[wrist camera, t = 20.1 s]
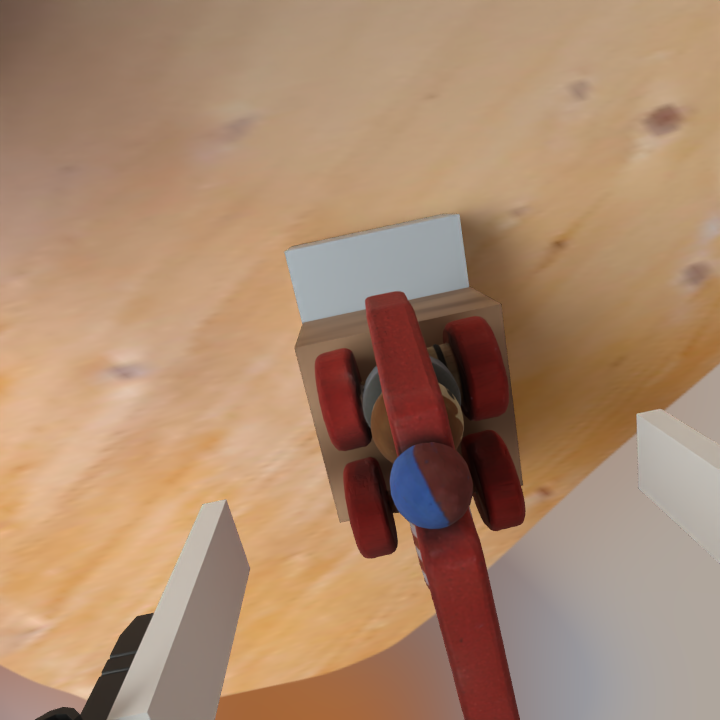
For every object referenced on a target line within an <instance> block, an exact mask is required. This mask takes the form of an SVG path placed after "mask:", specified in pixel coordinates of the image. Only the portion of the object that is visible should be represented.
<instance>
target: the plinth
mask: <svg viewBox="0 0 720 720" xmlns="http://www.w3.org/2000/svg"><path fill="white" fill-rule="evenodd" d="M285 256H286V260H287V264H288V268H289V272H290V276H291V280H292V284H293V288H294V292H295V296H296V300H297V304H298V308H299V312H300V316H301V320H302V324H303V323H304V322H308V321H313V320H318V319H322V318H327V317H332V316H336V315H341V314H346V313H350V312H355V311H360V310H364V309H366V307H365V299H366V298H367V297H370V296H374V295H379V294H384V293H389V292H394V291H401V292H404V293H405V295H406V297H407V299H408V300H411V299H416V298H420V297H425V296H430V295H434V294H439V293H444V292H448V291H453V290H458V289H462V288H467V287H469V281H468V274H467V267H466V259H465V252H464V245H463V237H462V230H461V223H460V215H459V214H440V215H436V216H431V217H426V218H422V219H417V220H413V221H408V222H403V223H399V224H394V225H389V226H385V227H380V228H375V229H371V230H366V231H362V232H357V233H352V234H348V235H343V236H338V237H334V238H329V239H324V240H320V241H315V242H310V243H306V244H301V245H297V246H292V247H291V248H289V249H288V250H286V251H285Z"/></svg>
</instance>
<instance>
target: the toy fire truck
mask: <svg viewBox="0 0 720 720" xmlns="http://www.w3.org/2000/svg"><path fill="white" fill-rule="evenodd" d="M365 307H366V318H367V322H368V327H369V331H370V336H371V340H372V345H373V350H374V355H375V360H376V364H377V365H376V366H375V368H374V369H373V370H372V371H371V373H370V374H369V376H368V377H367V379H366V381H363V382H362V381H361V377H360V373H359V370H358V366H357V363H356V360H355V357H354V354H353V352H352V351H351V350H350V349H347V348H341V349H337V350H333V351H329V352H325V353H322V354H320V355H319V356H318V357H317V358H316V360H315V380H316V387H317V392H318V398H319V403H320V407H321V411H322V415H323V420H324V422H325V425H326V428H327V432H328V435H329V437H330V440H331V442H332V444H333V445H334V446H335V448H336V449H337V450H338V451H348V450H353V449H356V448H360V447H366V446H368V444H370V442H371V439H372V437H373V440H374V442H375V444H376V446H377V447H378V449H379V451H380V452H381V453H382V454H383V455H384V457H385V458H386V459H388V460H389V461H390V462H392V463H393V467H392V470H391V475H390V488H391V490H387V487H386V483H385V480H384V477H383V473H382V470H381V468H380V465H379V463H378V461H377V460H376V459H375V458H372V457H368V458H364V459H360V460H356V461H352V462H350V463H348V464H346V466H345V468H344V471H343V484H344V492H345V499H346V504H347V510H348V515H349V519H350V524H351V527H352V530H353V534H354V537H355V540H356V544H357V547H358V549H359V551H360V553H361V554H362V555H363V556H364V557H365V558H376V557H379V556H383V555H389V554H392V553H393V552H395V550H396V548H397V544H398V539H397V531H396V526H395V521H394V517H393V513H399V512H400V513H401V514H402V515H403V516H404V517H405V518H406V519H407V520H408V521H409V522H410V526H411V531H412V535H413V540H414V544H415V546H416V550H417V554H418V558H419V562H420V566H421V569H422V572H423V575H424V579H425V582H426V584H427V586H428V588H429V589H430V591H431V595H432V599H433V602H434V606H435V610H436V613H437V617H438V621H439V624H440V629H441V632H442V636H443V640H444V644H445V647H446V651H447V655H448V659H449V662H450V666H451V669H452V673H453V677H454V681H455V685H456V689H457V693H458V697H459V700H460V704H461V708H462V711H463V715H464V719H465V720H520V718H519V714H518V709H517V704H516V700H515V695H514V691H513V686H512V681H511V677H510V672H509V668H508V663H507V659H506V655H505V649H504V645H503V640H502V636H501V631H500V626H499V622H498V617H497V613H496V608H495V604H494V599H493V595H492V590H491V586H490V581H489V577H488V572H487V567H486V563H485V559H484V554H483V551H482V547H481V543H480V539H479V537H478V534H477V531H476V528H475V525H474V522H473V518H472V514H471V511H470V507H469V505H470V503H471V499H472V495H473V497H474V500H475V503H476V506H477V509H478V511H479V514H480V516H481V518H482V520H483V522H484V523H485V524H486V525H487V526H488V527H489V528H490V529H491V530H493V531H499V530H502V529H506V528H510V527H515V526H518V525H521V524H522V523H523V521H524V518H525V502H524V497H523V492H522V488H521V485H520V480H519V477H518V474H517V471H516V468H515V465H514V462H513V460H512V458H511V455H510V453H509V450H508V448H507V446H506V444H505V443H504V441H503V439H502V438H501V436H500V435H499V434H498V433H496V432H495V431H493V430H485V431H481V432H478V433H473V434H469V435H467V436H465V437H463V439H462V435H463V431H464V421H463V415H462V412H463V413H464V415H465V416H466V417H467V418H468V419H469V420H470V421H481V420H483V419H489V418H493V417H498V416H500V415H502V414H504V413H505V412H506V410H507V407H508V404H509V385H508V378H507V375H506V369H505V366H504V363H503V359H502V355H501V351H500V348H499V345H498V343H497V340H496V338H495V335H494V333H493V331H492V329H491V327H490V326H489V324H488V323H487V321H486V320H485V319H484V318H482V317H480V316H472V317H468V318H463V319H459V320H455V321H451V322H449V323H447V324H446V326H445V328H444V330H443V343H444V344H441V345H437V344H434V345H433V346H431V347H429V348H426V344H425V341H424V338H423V335H422V332H421V329H420V326H419V323H418V320H417V317H416V314H415V311H414V309H413V307H412V305H411V304H410V302H409V300H408V299H407V297H406V295H405V293H404V292H401V291H394V292H389V293H384V294H379V295H374V296H370V297H367V298H366V299H365ZM461 410H462V411H461ZM461 440H462V442H461ZM460 442H461V448H462V456H461V455H460V454H459V453H458V452H457V451H456V450H457V448H458V446H459V444H460Z"/></svg>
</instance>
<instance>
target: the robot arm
mask: <svg viewBox="0 0 720 720" xmlns="http://www.w3.org/2000/svg"><path fill="white" fill-rule="evenodd" d="M637 453H638V489H639V490H640V491H642V492H643V493H644V494H645V495H646V496H647V497H648V498H649V499H650V500H651V501H652V502H653V503H655V504H656V505H657V506H658V507H659V508H660V509H661V510H662V511H663V512H664V513H665V514H666V515H668V516H669V517H670V518H671V519H672V520H673V521H674V522H675V523H676V524H677V525H678V526H680V527H681V528H682V529H683V530H684V531H685V532H686V533H687V534H688V535H689V536H690V537H691V538H692V539H693V540H695V541H696V542H697V543H698V544H699V545H700V546H701V547H702V548H703V549H704V550H705V551H706V552H708V553H709V554H710V555H711V556H712V557H713V558H714V559H715V560H716V561H717V562H719V564H720V445H719V444H717V443H716V442H714V441H713V440H711V439H709V438H708V437H706V436H704V435H703V434H701V433H700V432H698V431H696V430H695V429H693V428H691V427H690V426H688V425H687V424H685V423H683V422H682V421H680V420H678V419H677V418H675V417H674V416H672V415H670V414H669V413H667V412H666V411H664V410H662V409H657V410H652V411H647V412H642V413H638V414H637ZM249 571H250V567H249V564H248V561H247V558H246V555H245V552H244V549H243V547H242V544H241V541H240V538H239V535H238V532H237V529H236V526H235V523H234V520H233V518H232V515H231V512H230V509H229V506H228V503H227V500H226V499H225V500H220V501H216V502H211V503H206V504H202V507H201V509H200V511H199V513H198V516H197V518H196V520H195V522H194V525H193V527H192V529H191V531H190V534H189V536H188V538H187V540H186V543H185V545H184V547H183V549H182V552H181V554H180V556H179V558H178V561H177V563H176V565H175V567H174V570H173V572H172V574H171V576H170V579H169V581H168V583H167V585H166V588H165V590H164V592H163V594H162V597H161V599H160V601H159V603H158V606H157V608H156V610H155V612H154V613H151V614H146V615H141V616H137V617H136V618H135V619H134V620H133V621H132V622H131V624H130V625H129V626H128V627H127V628H126V629H125V630H124V632H123V633H122V634H121V635H120V637H119V639H118V641H117V643H116V645H115V647H114V649H113V651H112V653H111V655H110V659H109V660H108V661H107V663H106V665H105V667H104V669H103V671H102V676H101V677H99V679H98V681H97V683H96V685H95V687H94V689H93V691H92V693H91V695H90V696H89V698H88V700H87V703H86V705H85V707H84V708H83V710H82V712H81V714H79V713H78V712H77V711H76V710H75V709H74V708H68V707H62V708H59V709H55V710H52V711H49V712H47V713H46V714H44V715H43V716H40V717H39V718H37V719H35V720H215V716H216V712H217V708H218V703H219V699H220V695H221V691H222V687H223V682H224V678H225V674H226V669H227V665H228V661H229V657H230V652H231V648H232V644H233V640H234V635H235V631H236V627H237V622H238V618H239V614H240V610H241V605H242V601H243V597H244V593H245V588H246V584H247V580H248V575H249Z"/></svg>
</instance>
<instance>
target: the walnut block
mask: <svg viewBox="0 0 720 720" xmlns="http://www.w3.org/2000/svg"><path fill="white" fill-rule="evenodd" d="M409 302H410V304H411V305H412V307H413V309H414V311H415V314H416V317H417V320H418V323H419V326H420V329H421V332H422V335H423V338H424V341H425V344H426V348H429V347H431V346H433V345H434V344H437V345H441V344H444V343H443V330H444V328H445V326H446V324H447V323H449V322H451V321H455V320H459V319H463V318H468V317H472V316H480V317H482V318H484V319H485V320H486V321H487V323H488V324H489V326H490V327H491V329H492V331H493V333H494V335H495V338H496V340H497V343H498V345H499V348H500V351H501V355H502V359H503V363H504V366H505V369H506V375H507V378H508V385H509V404H508V407H507V410H506V412H505V413H504V414H502V415H500V416H498V417H493V418H489V419H483V420H481V421H470V420H469V419H468V418H467V417H466V416H465V415H464V413H463V412H462V415H463V421H464V431H463V435H462V439H463V437H465V436H467V435H469V434H473V433H478V432H481V431H485V430H493V431H495V432H496V433H498V434H499V435H500V436H501V438H502V439H503V441H504V443H505V444H506V446H507V448H508V450H509V453H510V455H511V458H512V460H513V462H514V465H515V468H516V471H517V474H518V477H519V480H520V485H521V486H522V485H523V481H522V473H521V464H520V456H519V448H518V440H517V431H516V423H515V415H514V406H513V398H512V390H511V381H510V373H509V365H508V356H507V348H506V340H505V332H504V323H503V315H502V307H501V304H500V303H499V302H497V301H495V300H493V299H491V298H490V297H488V296H486V295H484V294H482V293H481V292H479V291H477V290H475V289H473V288H472V287H467V288H462V289H458V290H453V291H448V292H444V293H439V294H434V295H430V296H425V297H420V298H416V299H411V300H409ZM341 348H347V349H350V350H351V351H352V352H353V354H354V357H355V360H356V363H357V366H358V370H359V373H360V377H361V381H362V382H363V381H366V379H367V377H368V376H369V374H370V373H371V371H372V370H373V369H374V368H375V366H376V365H377V364H376V360H375V355H374V350H373V345H372V340H371V336H370V331H369V327H368V322H367V318H366V309H364V310H360V311H355V312H350V313H346V314H341V315H336V316H332V317H327V318H322V319H318V320H313V321H308V322H304V323H303V324H302V327H301V330H300V333H299V336H298V339H297V342H296V345H295V352H296V356H297V360H298V364H299V368H300V371H301V375H302V379H303V383H304V387H305V391H306V394H307V398H308V402H309V406H310V410H311V414H312V417H313V421H314V425H315V429H316V433H317V437H318V440H319V444H320V448H321V452H322V456H323V460H324V463H325V467H326V471H327V475H328V479H329V483H330V486H331V490H332V494H333V498H334V502H335V506H336V509H337V513H338V517H339V521H340V523H341V522H346V521H350V519H349V515H348V510H347V504H346V499H345V492H344V484H343V471H344V468H345V466H346V464H348V463H350V462H352V461H356V460H360V459H364V458H368V457H372V458H375V459H376V460H377V461H378V463H379V465H380V468H381V470H382V473H383V477H384V480H385V483H386V487H387V490H391V488H390V475H391V470H392V467H393V463H392V462H390V461H389V460H388V459H386V458H385V457H384V455H383V454H382V453H381V452H380V451H379V449H378V447H377V446H376V444H375V442H374V440H373V437H372V439H371V442H370V444H368V446H366V447H360V448H356V449H353V450H348V451H338V450H337V449H336V448H335V446H334V445H333V444H332V442H331V440H330V437H329V435H328V432H327V428H326V425H325V422H324V420H323V415H322V411H321V407H320V403H319V398H318V392H317V387H316V380H315V360H316V358H317V357H318V356H319V355H320V354H322V353H325V352H329V351H333V350H337V349H341ZM461 411H462V410H461ZM461 442H462V440H461ZM461 442H460V444H459V446H458V448H457V450H456V451H457V452H458V453H459V454H460V455H461V456H462V448H461ZM472 496H473V495H472Z"/></svg>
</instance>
